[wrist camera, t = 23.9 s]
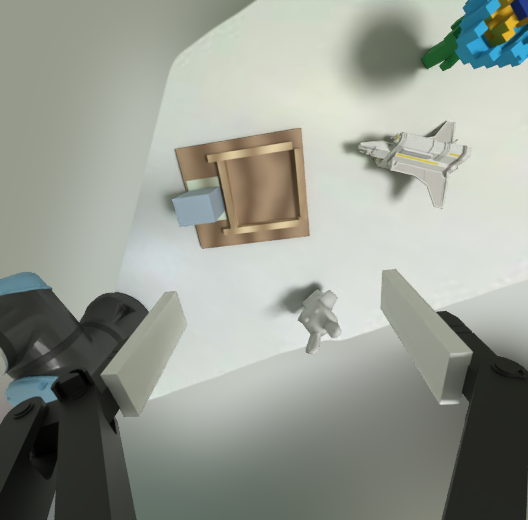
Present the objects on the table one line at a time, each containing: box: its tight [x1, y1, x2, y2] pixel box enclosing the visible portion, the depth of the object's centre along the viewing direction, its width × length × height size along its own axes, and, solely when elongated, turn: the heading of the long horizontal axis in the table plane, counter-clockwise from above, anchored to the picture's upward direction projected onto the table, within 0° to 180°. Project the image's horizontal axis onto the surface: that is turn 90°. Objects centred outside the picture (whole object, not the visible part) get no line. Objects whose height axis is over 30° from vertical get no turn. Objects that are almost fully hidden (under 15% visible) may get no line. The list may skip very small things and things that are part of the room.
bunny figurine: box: [298, 289, 341, 355], centre depth 49 cm, size 10×5×15 cm, turn 141°
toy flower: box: [421, 0, 528, 71], centre depth 30 cm, size 9×9×18 cm
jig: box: [176, 128, 310, 249], centre depth 46 cm, size 22×19×3 cm
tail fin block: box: [172, 186, 225, 227], centre depth 44 cm, size 6×4×8 cm
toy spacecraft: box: [357, 121, 471, 209], centre depth 40 cm, size 8×15×15 cm
